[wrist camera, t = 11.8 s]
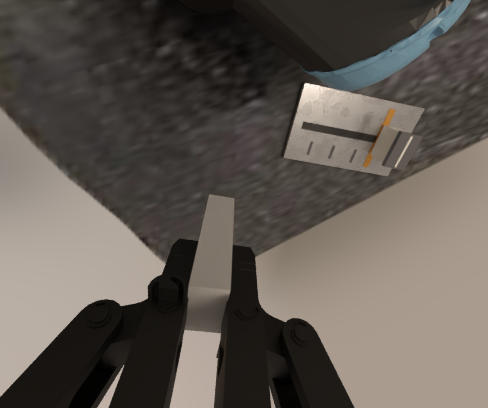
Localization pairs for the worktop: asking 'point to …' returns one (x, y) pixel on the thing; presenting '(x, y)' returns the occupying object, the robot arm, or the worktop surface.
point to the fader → (395, 147)
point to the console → (343, 127)
